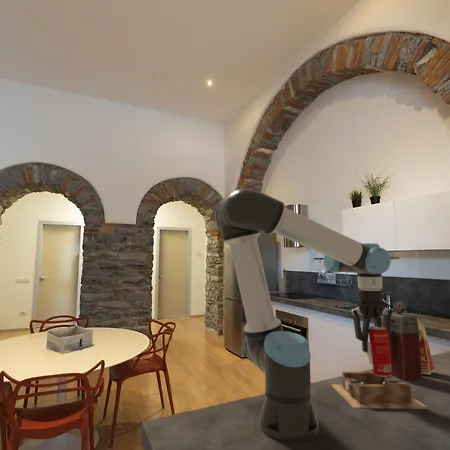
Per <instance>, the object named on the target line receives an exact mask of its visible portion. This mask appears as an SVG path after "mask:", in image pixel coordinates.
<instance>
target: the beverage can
mask: <svg viewBox="0 0 450 450" xmlns="http://www.w3.org/2000/svg"><path fill="white" fill-rule="evenodd" d="M368 340H369V342H370V343H371V363H372V364H371V368H372V372H373V373H374V374H375V375H377V376H381V377H389V376H391V375H392V365H391V356H390V346H389V337H388V331H387V329H386V327H384V326H383V325H382V328H381V327H376V326H375V325H371V326H369V336H368ZM391 377H392V376H391Z"/></svg>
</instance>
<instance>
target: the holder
mask: <svg viewBox="0 0 450 450" xmlns="http://www.w3.org/2000/svg"><path fill="white" fill-rule="evenodd" d="M345 381H349V382H350V383H361V382H366V383H367V384H352V388H351V391H348V390H347V389H346V387H345ZM384 381H386V382H388V383H392V384H382V382H384ZM331 386H332V388H333V389H334V390H335V391H336V393H338V394H339V395H340V397H342V398H343V399H344V401H346V402H347V403H348V404H349V405H350V406H351V407H352V408H353V409H396V410H397V409H400V410H401V409H409V410H410V409H412V410H413V409H415V410H417V409H418V410H427V409H428V408H427V405H425V404H424V403H422V402H421V401H419V400H418V399H416V398H415V397H414V396H412V386H411V385H410V384H408V383H405V384H401V383H398V380H396V379H395V377H394V378H393V376H389V377H381V376H377V375H375V374H374V373H373V371H342V383H341V384H340V383H339V384H338V383H336V384H331Z"/></svg>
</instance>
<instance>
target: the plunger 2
mask: <svg viewBox="0 0 450 450" xmlns="http://www.w3.org/2000/svg"><path fill="white" fill-rule="evenodd" d="M397 383H401V384H406V383H405V381H404V380H401V379H398V380H397ZM382 384H392V383H388V382H386V381H384V382H382Z"/></svg>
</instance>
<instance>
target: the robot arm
mask: <svg viewBox="0 0 450 450" xmlns="http://www.w3.org/2000/svg"><path fill="white" fill-rule="evenodd" d="M214 219H215V223H216V225H217V227H218V229H219V230H220V231H221V235H222V240H223V243H225V244H227V245H228V246H229V247H230V252H231V253H230V254H231V257H232V261H233V265H234V269H235V271H234V272H235V275H236V280H237V282H238V283H237V284H238V288H239V293H240V297H241V302H242V305H243V306H242V307H243V309H244V314H245V319H246V324H245V325H244V326H243V333H244V337H245V338H244V341H243V348H244V352H245V355H246V356H247V358H248V360H249V361H250V362H251V363H252V364H253V365H254V366H255V367H257V368H258V369H259V370H260V371H261V372H262V373H263V374H264V376H265V377H264V382H265V383H264V389H265V390H264V391H265V392H264V393H265V398H264V400H263V404H262V407H261V410H260V413H259V418H258V427H259V429H260V431H261V432H262V433H263V434H265V435H266V436H268V437H270V438H272V439H274V440H278V441H281V442H286V443H306V442H310V441H313V440H314V439H316V438H317V437H318V435H319V434H320V426H319V425H320V424H319V420H318V417H317V414H316V412H315V409H314V406H313V403H312V393H311V391H312V389H311V388H312V386H311V384H312V383H311V350H310V344H309V341H308V340H307V339H306V338H305V336H303V335H301V334H298V333H295V332H291V331H284V330H283V325H282V322H281V321H282V320H281V319H279V318H277V317H276V316H275V311H274V307H273V303H272V300H271V295H270V290H269V286H268V282H267V278H266V277H267V276H266V274H265V269H264V265H263V260H262V256H261V252H260V247H259V243H258V238H259V237H260V235H261V232H262V233H265V234H267V235H272V234H273V233H274V234H276V235H279V236H280V237H283V238H286V239H288V240H290V241H292V242H294V243H297V244H299V245H301V246H304V247H305V248H308V249H310V250H313V251H315V252H317V253H319V254H322V255H323V265H324V268H325V269H326V271H328V272H329V273H336V274H337V273H349V274H350V273H352V274H354V273H355V274H357V287H358V304H357V307H356V308H351V309H350V313H351V315H352V319H353V327H354V335H355V338H356V339H357V340H359V341H360V342H361V348H362V349H361V350H362V352H364V356H365V357H364V360H365V362H366V363H367V364H369V365H370V364H371V365H372V359H371V343H370V341H369V328H370V324H371V321H372V320H373V323H374V326H376V327H381V328H382V326H384V327H386V329H387V331H388V337H389V340H390V321H391V315H392V312H394V310H392V309H390V308H387V307H385V305H384V292H383V290H382V289H383V273H386V272H387V271H389V269H390V266H391V261H392V260H391V255H390V254H389V252H388V251H387V250H386V249H385V248H384V247H381V245H379V244H378V243H375V242H373V243H372V242H371V243H366V242H365V243H362V242H359V241H357V240H355V239H353V238H351V237H348V236H346V235H345V234H342V233H340V232H338V231H336V230H334V229H332V228H329V227H327V226H325V225H323V224H321V223H319V222H318V221H315V220H312V219H310V218H308V217H306V216H305V215H302V214H299V213H297V212H296V211H293V210H291V209H289V208H287V207H286V205H285V203H284V202H282V201H281V200H279V199H276V198H275V197H272V196H270V195H268V194H265V193H264V192H260V191H259V190H255V189H251V188H240V189H237V190H235V191H233V192H231V194H230V195H228V196H226V197H225V198H223V199H222V200H221V201H220V202H219V203H218V205H217V208H216V210H215V214H214ZM360 314H361V315H362V325H361V319H360V318H361V317H360ZM383 314H384V315H383Z"/></svg>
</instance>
